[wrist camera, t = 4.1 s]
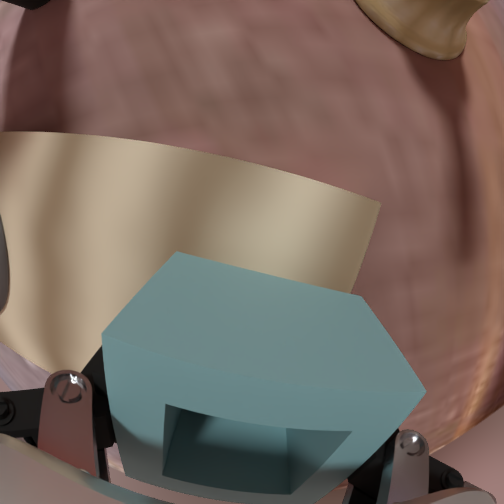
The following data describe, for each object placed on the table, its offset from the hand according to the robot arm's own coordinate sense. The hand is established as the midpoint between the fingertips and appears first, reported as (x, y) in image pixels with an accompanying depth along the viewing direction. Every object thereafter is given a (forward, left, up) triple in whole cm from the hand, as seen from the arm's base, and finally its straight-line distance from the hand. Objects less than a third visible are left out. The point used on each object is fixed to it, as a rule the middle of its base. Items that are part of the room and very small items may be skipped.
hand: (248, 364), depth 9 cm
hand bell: (-4, -20, -4) cm, 21 cm away
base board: (+9, 0, -4) cm, 10 cm away
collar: (0, 0, -1) cm, 1 cm away
